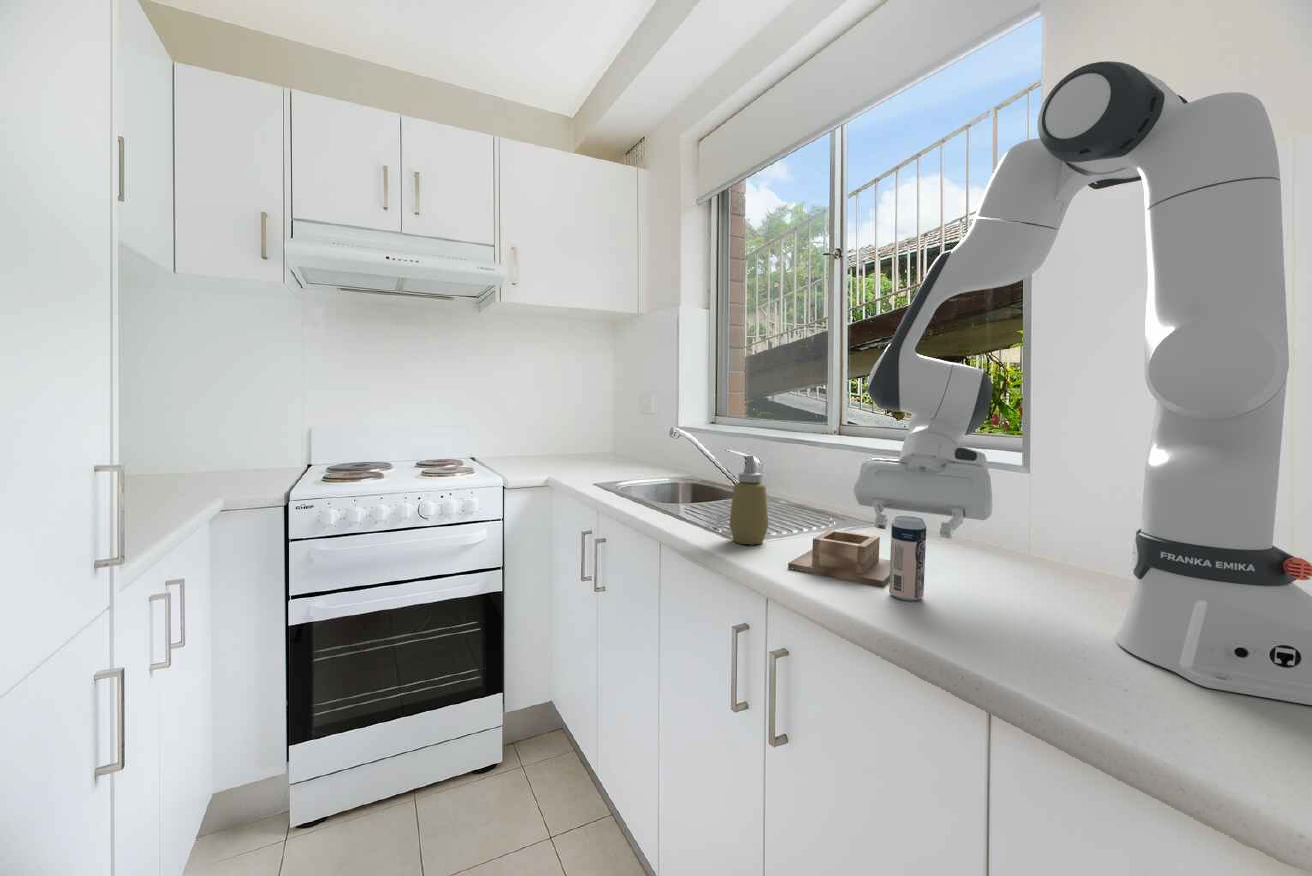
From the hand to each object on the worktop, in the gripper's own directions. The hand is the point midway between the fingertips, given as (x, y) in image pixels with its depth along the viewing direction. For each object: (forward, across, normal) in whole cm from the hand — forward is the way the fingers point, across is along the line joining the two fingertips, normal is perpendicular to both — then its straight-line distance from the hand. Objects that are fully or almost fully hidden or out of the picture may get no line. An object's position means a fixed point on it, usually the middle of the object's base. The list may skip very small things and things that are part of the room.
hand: (911, 531), depth 88 cm
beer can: (+9, 0, +5) cm, 10 cm away
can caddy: (+2, -12, +11) cm, 17 cm away
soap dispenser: (-2, -34, +16) cm, 37 cm away
